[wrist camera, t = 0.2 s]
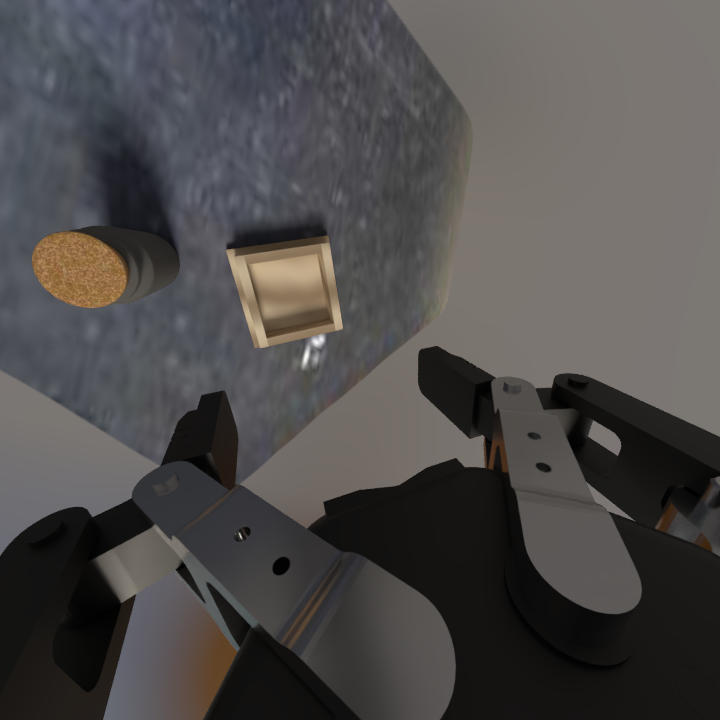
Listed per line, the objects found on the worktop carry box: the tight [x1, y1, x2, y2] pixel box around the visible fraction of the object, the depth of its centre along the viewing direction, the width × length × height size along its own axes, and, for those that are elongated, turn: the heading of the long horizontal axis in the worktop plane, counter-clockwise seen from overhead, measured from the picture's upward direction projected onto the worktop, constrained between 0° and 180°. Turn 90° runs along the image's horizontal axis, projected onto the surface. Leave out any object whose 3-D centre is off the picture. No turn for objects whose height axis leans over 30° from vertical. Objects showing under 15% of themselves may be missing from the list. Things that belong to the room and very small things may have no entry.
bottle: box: [32, 226, 179, 308], centre depth 25 cm, size 6×6×15 cm
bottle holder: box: [226, 236, 343, 348], centre depth 36 cm, size 12×12×4 cm
